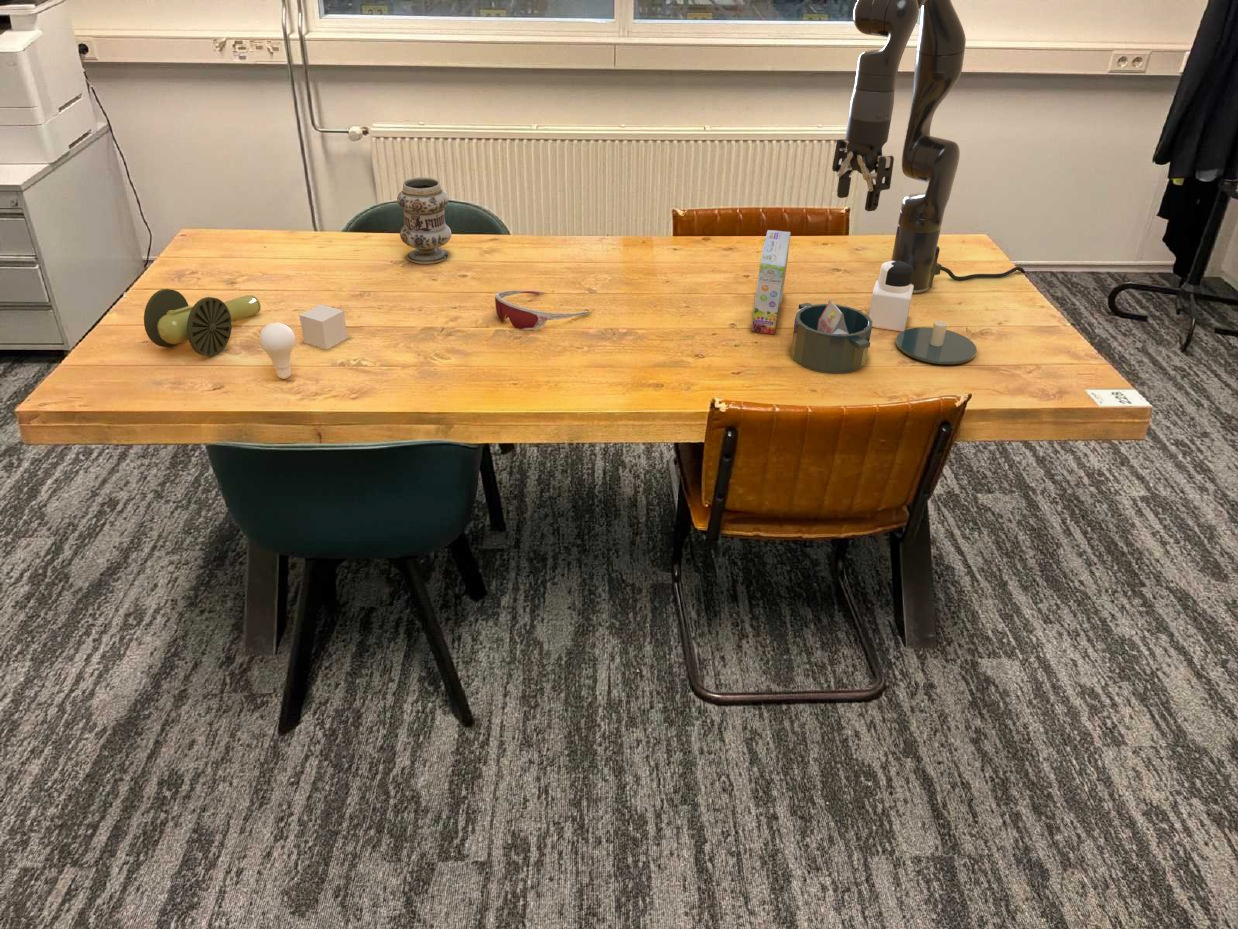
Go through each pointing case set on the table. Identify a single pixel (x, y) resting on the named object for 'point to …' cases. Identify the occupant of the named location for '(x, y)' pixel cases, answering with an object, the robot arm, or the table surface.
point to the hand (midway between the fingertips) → (856, 203)
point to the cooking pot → (830, 340)
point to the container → (892, 296)
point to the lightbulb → (278, 347)
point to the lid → (936, 344)
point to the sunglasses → (525, 312)
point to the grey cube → (323, 326)
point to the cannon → (195, 320)
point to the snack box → (771, 281)
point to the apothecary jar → (424, 220)
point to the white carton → (832, 320)
